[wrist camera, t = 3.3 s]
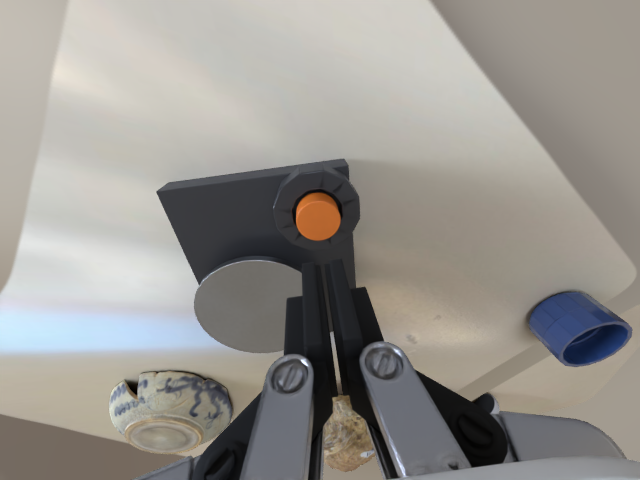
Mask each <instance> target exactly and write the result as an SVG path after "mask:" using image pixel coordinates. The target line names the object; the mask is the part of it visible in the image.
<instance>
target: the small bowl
mask: <svg viewBox="0 0 640 480" xmlns="http://www.w3.org/2000/svg"><path fill="white" fill-rule="evenodd" d="M529 327H530V330H531V332H532V333H533V334H534V335H535V336H536V337H537V338H538V339H539V340H540V341H541V342H542V343H543V344H544V345H545V346H546V347H547V348H548V350H549V351H550V352H551V353H552V354H553V355H554V356H555V357H556V358H557V359H558V360H559V361H560V362H561V363H563V364H564V365H565V366H572V367H579V366H586V365H590V364H593V363H596V362H599V361H602V360H604V359H606V358H607V357H609V356H611V355H613V354H615V353H616V352H617V351H619V350H620V349H621V348H622V347H624V346H625V345H626V343H627V342H628V341H629V339H630V338H631V336H632V327H631V326H630V325H629V324H628V323H627V322H625V321H624V320H623V319H621V318H620V317H618V316H617V315H615V314H614V313H613V312H611V311H610V310H608V309H607V308H606V307H604V306H603V305H602V304H600V303H599V302H598V301H596V300H595V299H593V298H592V297H591V296H589V295H588V294H585V293H580V292H566V293H560V294H557V295H554V296H552V297H550V298H548V299H546V300H545V301H543V302H542V303H540V304H539V305H538V306H537V307H536V308H535V309H534V311H533V312H532V314H531V316H530V321H529Z"/></svg>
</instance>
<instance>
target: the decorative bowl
mask: <svg viewBox="0 0 640 480" xmlns="http://www.w3.org/2000/svg"><path fill="white" fill-rule="evenodd" d="M109 409H110V416H111V419H112V422H113V424H114V426H115V427H116V428H117V430H118V431H119V432H120V433H121V434H123V435H124V436H125V438H126V440H127V441H128V442H129V443H130V444H131V445H132V446H134V447H136V448H138V449H141V450H143V451H147V452H152V453H159V454H176V453H182V452H186V451H189V450H192V449H194V448H195V447H197V446H198V445H200V444H203V443H205V442H207V441H209V440H211V439H213V438H214V437H216V436H217V435H218V434H220V433H221V432H222V431H223V430H224V429H225V428H226V426H227V425H228V424H229V423H230V420H231V417H232V406H231V404H230V401H229V399H228V392H227V389H226V388H225V387H223V386H222V385H220V384H219V383H217V382H215V381H212V380H211V379H207V380H205V381H204V380H203V379H202V378H201V377H198V376H196V375H194V374H190V373H184V372H174V371H168V372H159V373H158V374H156V372H147V373H142V374H140V377H139V383H138V396H137V395H135V394H134V393H133V392H132V391H131V390H130V389H129V387H128V385H127V383H126V381H125V380H124V381H123V382H121V383H119V384H118V385H116V387H115V388H114V389H113V391H112V393H111V395H110V406H109Z"/></svg>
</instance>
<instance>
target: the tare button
mask: <svg viewBox="0 0 640 480" xmlns="http://www.w3.org/2000/svg"><path fill="white" fill-rule="evenodd" d="M340 222H341V218H340V214H339V210H338V207H337V204H336V202H335V201H334V200H333V198H331V197H330V196H329V195H327V194H324V193H318V192H317V193H311V194H308V195H306V196H305V197H303V198H302V199H301V200H300V202H299V204H298V206H297V210H296V224H297V228H298V230H299V232H300V233H301V234H302V235H303V236H305V237H306V238H308V239H310V240H315V241H320V240H325V239H328V238H330V237H331V236H333V235H334V234H335V233H336V232H337V230H338V228H339V226H340Z"/></svg>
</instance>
